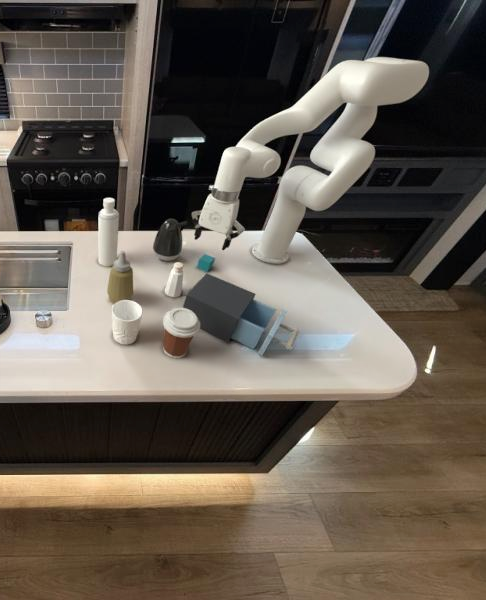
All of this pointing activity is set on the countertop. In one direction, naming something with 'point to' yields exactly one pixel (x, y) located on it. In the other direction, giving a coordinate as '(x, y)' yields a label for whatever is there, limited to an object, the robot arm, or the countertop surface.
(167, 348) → the coffee cup
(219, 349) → the countertop surface
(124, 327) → the white cup
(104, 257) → the white bottle
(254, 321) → the drawer
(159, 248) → the pump dispenser
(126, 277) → the squeeze bottle
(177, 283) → the pepper shaker
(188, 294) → the dark grey drawer cabinet
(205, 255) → the teal cube
